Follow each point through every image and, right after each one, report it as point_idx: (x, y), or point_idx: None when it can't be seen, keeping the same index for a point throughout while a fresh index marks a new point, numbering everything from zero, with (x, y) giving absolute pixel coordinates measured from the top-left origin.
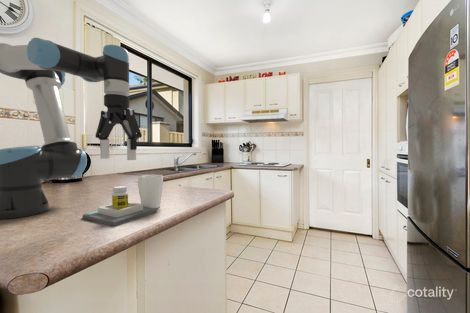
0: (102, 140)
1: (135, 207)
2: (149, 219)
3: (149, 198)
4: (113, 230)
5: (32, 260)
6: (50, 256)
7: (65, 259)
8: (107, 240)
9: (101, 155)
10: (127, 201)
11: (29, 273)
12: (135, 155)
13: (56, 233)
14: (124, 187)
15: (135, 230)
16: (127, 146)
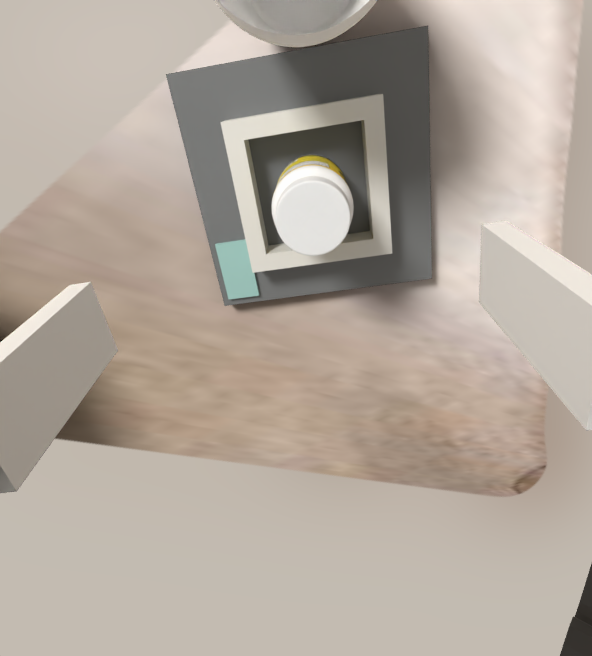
0: (15, 475)
1: (385, 150)
2: (487, 138)
3: (352, 11)
4: (463, 294)
5: (467, 462)
6: (482, 441)
7: (529, 431)
8: None
9: (98, 367)
10: (341, 174)
11: (523, 476)
12: (525, 238)
13: (330, 394)
14: (349, 210)
15: None
16: (547, 373)
